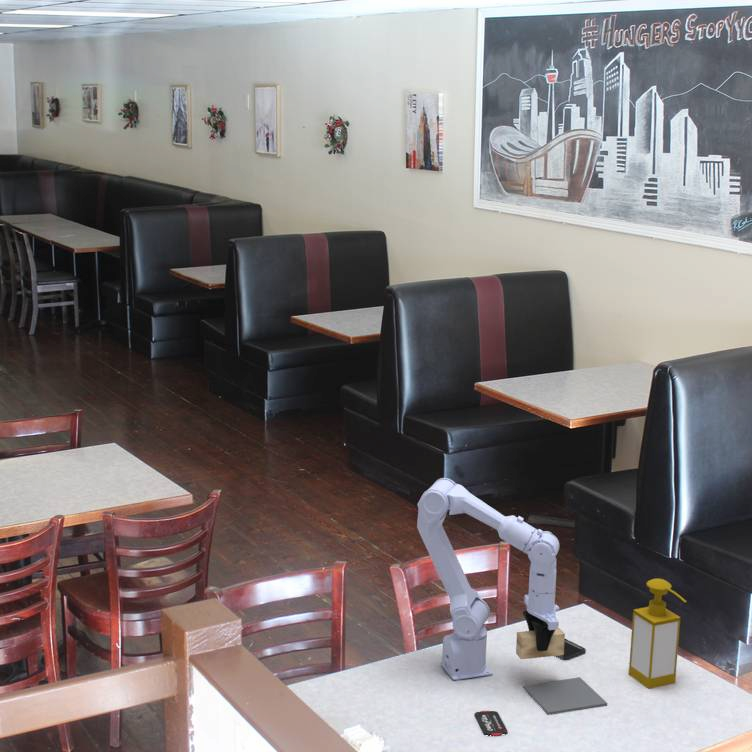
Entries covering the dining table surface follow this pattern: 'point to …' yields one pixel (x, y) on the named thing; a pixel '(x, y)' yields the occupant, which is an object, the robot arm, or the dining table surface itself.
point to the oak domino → (529, 649)
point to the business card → (490, 723)
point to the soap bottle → (655, 639)
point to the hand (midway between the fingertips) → (539, 646)
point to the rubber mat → (564, 695)
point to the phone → (571, 650)
